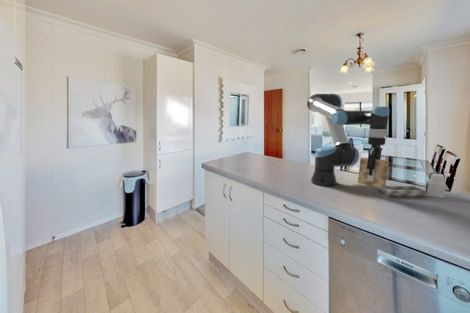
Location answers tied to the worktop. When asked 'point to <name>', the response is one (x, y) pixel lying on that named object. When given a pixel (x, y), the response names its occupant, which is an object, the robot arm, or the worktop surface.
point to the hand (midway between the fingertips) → (371, 179)
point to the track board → (403, 191)
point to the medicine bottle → (436, 185)
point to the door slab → (379, 173)
